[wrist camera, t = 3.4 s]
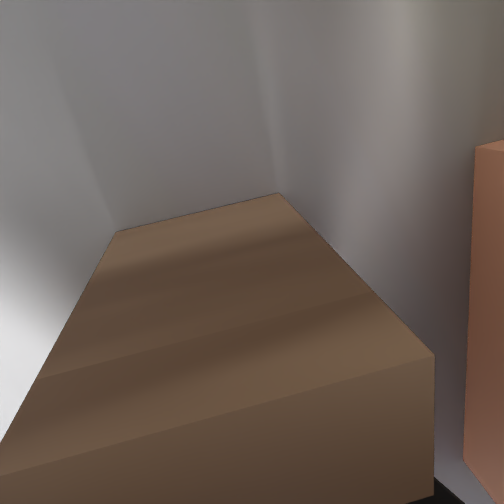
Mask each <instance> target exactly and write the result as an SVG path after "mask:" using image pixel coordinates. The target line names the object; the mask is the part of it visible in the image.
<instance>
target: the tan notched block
mask: <svg viewBox="0 0 504 504" xmlns="http://www.w3.org/2000/svg"><path fill="white" fill-rule="evenodd" d="M434 392H435V355H434V354H433V353H432V352H431V351H430V350H429V349H428V347H427V346H426V345H425V344H424V343H423V342H422V341H421V340H420V339H419V338H418V337H417V336H416V335H415V334H414V333H413V332H412V331H411V330H410V329H409V328H408V327H407V326H406V325H405V324H404V322H403V321H402V320H401V319H400V318H399V317H398V316H397V315H396V314H395V313H394V312H393V311H392V310H391V309H390V308H389V307H388V306H387V305H386V304H385V303H384V302H383V301H382V300H381V298H380V297H379V296H378V295H377V294H376V293H375V292H374V291H373V290H372V289H371V288H370V287H369V286H368V285H367V284H366V283H365V282H364V281H363V280H362V279H361V278H360V277H359V276H358V275H357V273H356V272H355V271H354V270H353V269H352V268H351V267H350V266H349V265H348V264H347V263H346V262H345V261H344V260H343V259H342V258H341V257H340V256H339V255H338V254H337V253H336V252H335V251H334V250H333V248H332V247H331V246H330V245H329V244H328V243H327V242H326V241H325V240H324V239H323V238H322V237H321V236H320V235H319V234H318V233H317V232H316V231H315V230H314V229H313V228H312V227H311V226H310V225H309V223H308V222H307V221H306V220H305V219H304V218H303V217H302V216H301V215H300V214H299V213H298V212H297V211H296V210H295V209H294V208H293V207H292V206H291V205H290V204H289V203H288V202H287V201H286V199H285V198H284V197H283V196H282V195H281V194H280V193H277V194H273V195H268V196H264V197H260V198H256V199H252V200H248V201H244V202H239V203H235V204H231V205H227V206H223V207H219V208H214V209H210V210H206V211H202V212H198V213H194V214H189V215H185V216H181V217H177V218H173V219H169V220H164V221H160V222H156V223H152V224H148V225H144V226H139V227H135V228H131V229H127V230H123V231H119V232H116V233H115V235H114V236H113V238H112V240H111V242H110V244H109V245H108V247H107V249H106V251H105V253H104V255H103V256H102V258H101V260H100V262H99V264H98V266H97V267H96V269H95V271H94V273H93V275H92V277H91V278H90V280H89V282H88V284H87V286H86V288H85V289H84V291H83V293H82V295H81V297H80V299H79V300H78V302H77V304H76V306H75V308H74V309H73V311H72V313H71V315H70V317H69V319H68V320H67V322H66V324H65V326H64V328H63V330H62V331H61V333H60V335H59V337H58V339H57V341H56V342H55V344H54V346H53V348H52V350H51V352H50V353H49V355H48V357H47V359H46V361H45V363H44V364H43V366H42V368H41V370H40V372H39V374H38V375H37V377H36V379H35V381H34V383H33V384H32V386H31V388H30V390H29V392H28V394H27V395H26V397H25V399H24V401H23V403H22V405H21V406H20V408H19V410H18V412H17V414H16V416H15V417H14V419H13V421H12V423H11V425H10V427H9V428H8V430H7V432H6V434H5V436H4V438H3V439H2V441H1V443H0V504H406V503H409V502H413V501H416V500H419V499H422V498H426V497H429V496H432V495H434Z"/></svg>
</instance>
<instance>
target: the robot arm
mask: <svg viewBox="0 0 504 504" xmlns="http://www.w3.org/2000/svg"><path fill="white" fill-rule="evenodd" d="M406 504H465V503H464V502H463V501H462V500H460V499H459V498H458V497H457V496H456V495H455V494H453V493H452V492H451V491H450V490H449V489H448V488H446V487H445V486H444V485H443V484H442V483H440V482H439V481H438V480H437V479H436V478H435V477H434V495H432V496H429V497H426V498H422V499H419V500H416V501H413V502H409V503H406Z"/></svg>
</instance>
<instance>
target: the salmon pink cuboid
mask: <svg viewBox="0 0 504 504" xmlns="http://www.w3.org/2000/svg"><path fill="white" fill-rule="evenodd" d="M463 461H464V462H465V463H466V465H467V466H468V467H469V469H470V470H471V471H472V473H473V474H474V475H475V477H476V478H477V479H478V481H479V482H480V483H481V485H482V486H483V487H484V489H485V490H486V491H487V492H488V494H489V495H490V496H491V498H492V499H493V500H494V502H495V503H496V504H504V140H500V141H496V142H492V143H488V144H484V145H480V146H476V147H475V165H474V190H473V215H472V241H471V266H470V292H469V317H468V342H467V368H466V393H465V418H464V444H463Z"/></svg>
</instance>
